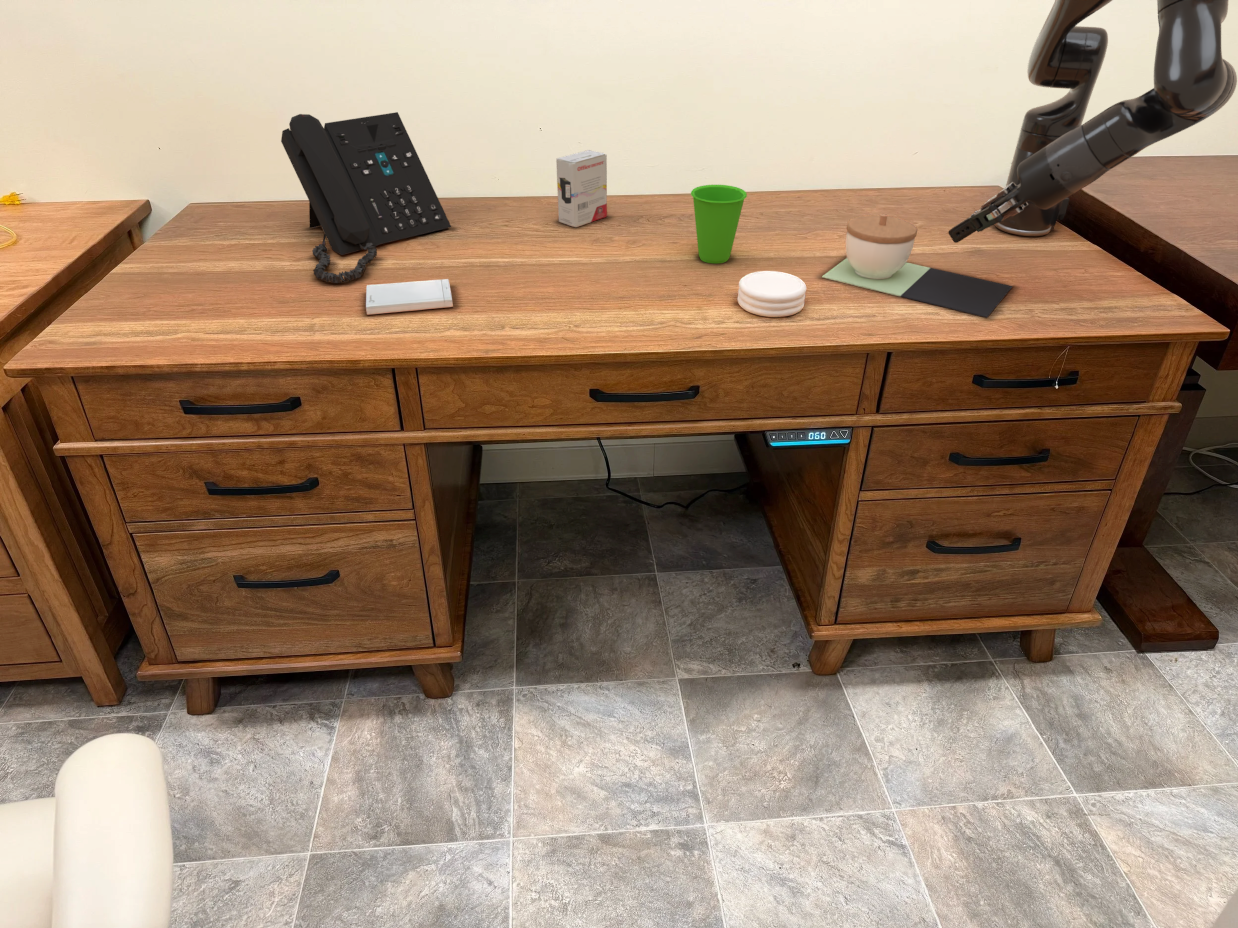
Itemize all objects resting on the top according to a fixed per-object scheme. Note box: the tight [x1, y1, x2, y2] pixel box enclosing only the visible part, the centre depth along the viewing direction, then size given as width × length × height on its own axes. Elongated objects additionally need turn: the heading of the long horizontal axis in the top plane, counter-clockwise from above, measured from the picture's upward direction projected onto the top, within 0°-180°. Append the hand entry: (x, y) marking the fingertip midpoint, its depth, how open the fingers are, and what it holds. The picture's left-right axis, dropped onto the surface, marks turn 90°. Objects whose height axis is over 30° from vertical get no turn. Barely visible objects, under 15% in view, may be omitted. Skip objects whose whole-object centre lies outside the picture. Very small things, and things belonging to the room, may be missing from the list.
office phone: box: [280, 111, 452, 284], centre depth 141 cm, size 29×28×20 cm
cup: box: [690, 184, 748, 264], centre depth 138 cm, size 9×9×11 cm
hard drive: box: [365, 278, 454, 316], centre depth 126 cm, size 2×8×12 cm
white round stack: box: [736, 270, 807, 318], centre depth 125 cm, size 10×10×4 cm
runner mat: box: [821, 257, 1013, 319], centre depth 133 cm, size 26×14×1 cm, turn 55°
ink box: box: [555, 149, 608, 228], centre depth 154 cm, size 9×5×12 cm, turn 136°
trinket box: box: [844, 213, 918, 279], centre depth 133 cm, size 11×11×9 cm
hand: (952, 236), depth 126 cm, fingers closed
